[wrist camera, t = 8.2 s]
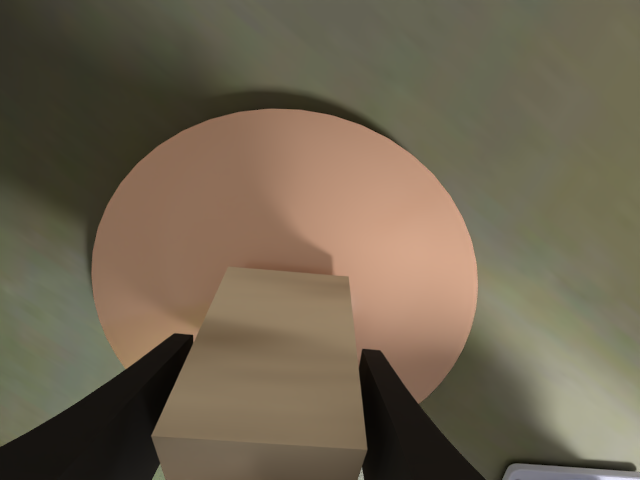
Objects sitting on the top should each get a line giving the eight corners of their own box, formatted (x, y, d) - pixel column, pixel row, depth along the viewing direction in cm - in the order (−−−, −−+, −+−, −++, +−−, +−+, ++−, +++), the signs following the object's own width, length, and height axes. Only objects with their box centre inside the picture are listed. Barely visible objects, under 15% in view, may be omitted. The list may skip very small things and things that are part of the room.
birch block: (334, 356, 14) (340, 531, 9) (233, 348, 14) (179, 522, 9) (348, 276, 12) (367, 449, 7) (227, 266, 12) (150, 436, 6)
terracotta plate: (424, 439, 17) (430, 457, 16) (128, 418, 17) (117, 435, 16) (515, 133, 12) (532, 135, 11) (79, 86, 11) (57, 83, 10)
